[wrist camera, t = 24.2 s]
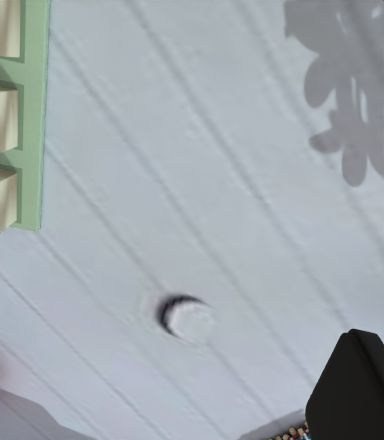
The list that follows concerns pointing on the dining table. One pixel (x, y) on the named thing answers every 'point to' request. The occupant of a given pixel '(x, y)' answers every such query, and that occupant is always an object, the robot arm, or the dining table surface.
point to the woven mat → (296, 434)
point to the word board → (28, 110)
